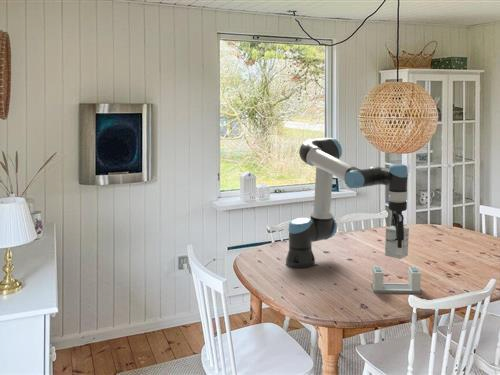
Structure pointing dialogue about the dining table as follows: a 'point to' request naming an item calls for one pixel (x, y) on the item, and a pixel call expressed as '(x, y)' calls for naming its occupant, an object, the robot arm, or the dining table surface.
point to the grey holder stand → (409, 287)
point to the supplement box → (391, 243)
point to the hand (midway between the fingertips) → (396, 250)
